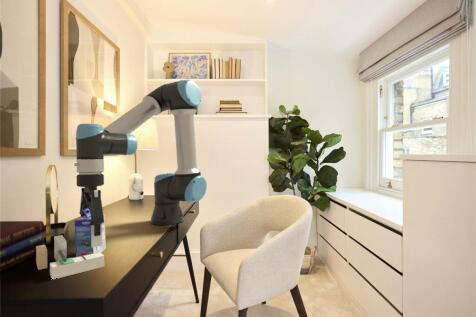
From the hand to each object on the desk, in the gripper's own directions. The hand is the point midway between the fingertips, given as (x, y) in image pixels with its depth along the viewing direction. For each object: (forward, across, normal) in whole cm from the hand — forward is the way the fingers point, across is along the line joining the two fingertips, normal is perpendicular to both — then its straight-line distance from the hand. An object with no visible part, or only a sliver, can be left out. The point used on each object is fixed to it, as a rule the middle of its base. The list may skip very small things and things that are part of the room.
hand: (91, 241), depth 83 cm
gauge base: (+4, +5, -7) cm, 9 cm away
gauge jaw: (+4, +5, -8) cm, 10 cm away
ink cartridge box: (+4, 0, 0) cm, 4 cm away
